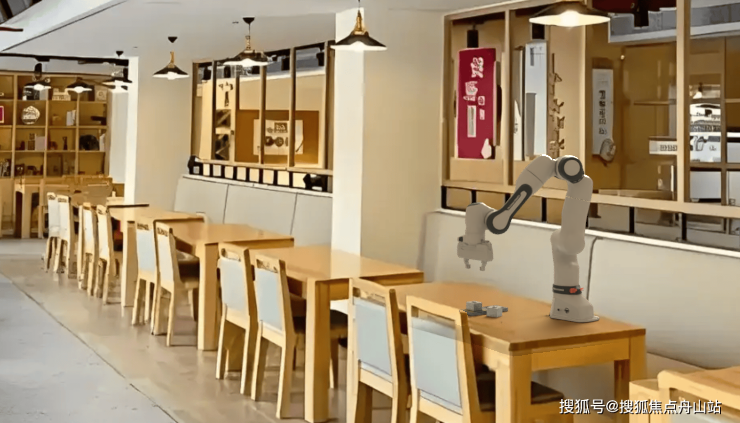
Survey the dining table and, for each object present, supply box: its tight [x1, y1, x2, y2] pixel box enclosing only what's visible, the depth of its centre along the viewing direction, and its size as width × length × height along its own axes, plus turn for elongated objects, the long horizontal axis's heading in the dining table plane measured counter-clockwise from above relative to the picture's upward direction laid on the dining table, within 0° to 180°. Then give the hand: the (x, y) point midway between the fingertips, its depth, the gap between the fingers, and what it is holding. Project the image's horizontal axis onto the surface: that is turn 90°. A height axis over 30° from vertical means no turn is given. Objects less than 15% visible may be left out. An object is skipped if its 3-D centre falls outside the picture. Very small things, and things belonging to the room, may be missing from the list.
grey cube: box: [465, 300, 483, 312], centre depth 388 cm, size 5×5×5 cm
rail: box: [460, 304, 509, 317], centre depth 391 cm, size 8×22×3 cm, turn 125°
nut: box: [486, 305, 503, 318], centre depth 383 cm, size 5×5×5 cm
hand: (475, 269), depth 389 cm, fingers open, 8 cm apart
